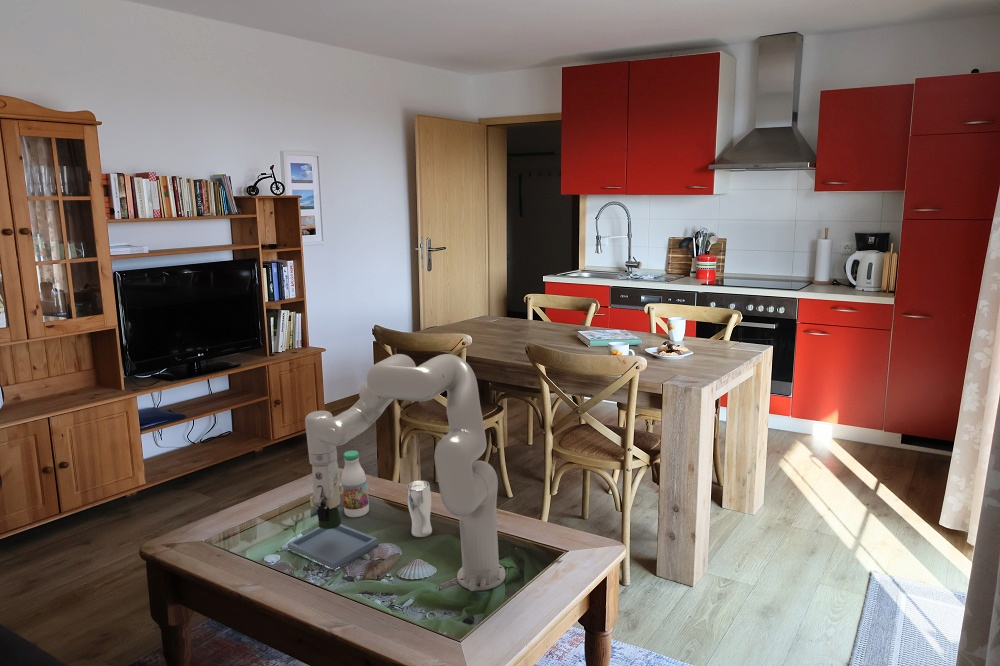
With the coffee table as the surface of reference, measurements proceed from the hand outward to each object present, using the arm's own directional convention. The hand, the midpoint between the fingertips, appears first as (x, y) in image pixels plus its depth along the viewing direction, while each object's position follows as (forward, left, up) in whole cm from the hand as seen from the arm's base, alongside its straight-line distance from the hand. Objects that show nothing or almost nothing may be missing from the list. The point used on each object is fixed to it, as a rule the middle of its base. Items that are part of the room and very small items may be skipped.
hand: (329, 513), depth 206 cm
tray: (0, 0, -11) cm, 11 cm away
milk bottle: (+22, -1, -11) cm, 25 cm away
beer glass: (+9, -24, -11) cm, 28 cm away
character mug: (0, 0, -4) cm, 4 cm away
